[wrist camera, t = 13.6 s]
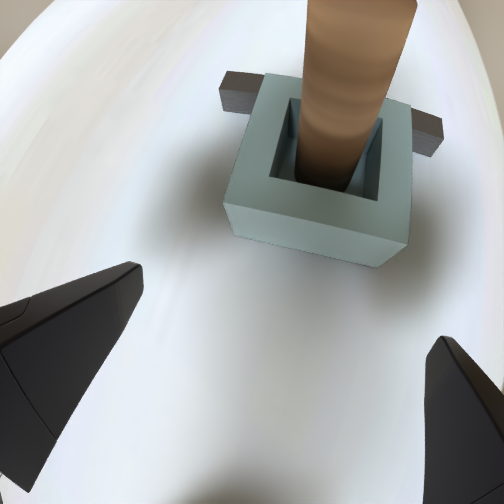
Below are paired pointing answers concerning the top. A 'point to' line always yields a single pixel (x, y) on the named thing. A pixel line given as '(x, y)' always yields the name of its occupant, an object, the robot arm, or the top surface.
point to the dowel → (345, 83)
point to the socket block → (315, 198)
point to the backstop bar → (248, 85)
